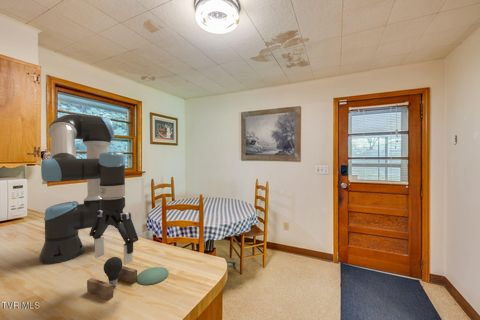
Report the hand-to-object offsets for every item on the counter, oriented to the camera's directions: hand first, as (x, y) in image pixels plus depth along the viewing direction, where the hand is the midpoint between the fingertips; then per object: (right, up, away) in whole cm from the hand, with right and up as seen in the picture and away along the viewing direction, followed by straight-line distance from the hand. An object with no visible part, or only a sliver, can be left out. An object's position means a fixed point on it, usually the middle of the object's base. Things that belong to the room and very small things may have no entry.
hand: (113, 259), depth 73 cm
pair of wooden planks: (0, -9, 0) cm, 9 cm away
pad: (+11, -9, +7) cm, 16 cm away
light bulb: (0, -10, 0) cm, 10 cm away
